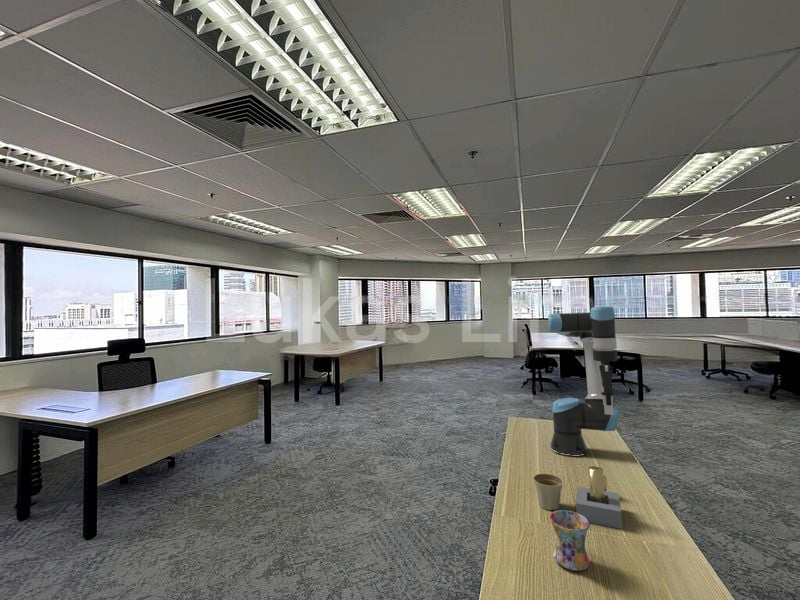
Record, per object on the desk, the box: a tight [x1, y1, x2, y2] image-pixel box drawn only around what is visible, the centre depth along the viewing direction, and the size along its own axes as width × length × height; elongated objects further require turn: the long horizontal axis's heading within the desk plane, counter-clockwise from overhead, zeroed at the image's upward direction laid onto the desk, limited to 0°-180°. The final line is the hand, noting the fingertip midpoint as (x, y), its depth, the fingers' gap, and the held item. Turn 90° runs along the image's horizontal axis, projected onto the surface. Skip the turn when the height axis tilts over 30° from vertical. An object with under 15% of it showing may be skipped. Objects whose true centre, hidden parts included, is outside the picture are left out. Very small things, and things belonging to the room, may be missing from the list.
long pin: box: [588, 465, 605, 504], centre depth 114 cm, size 4×4×14 cm
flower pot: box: [532, 473, 564, 511], centre depth 120 cm, size 9×9×9 cm
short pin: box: [603, 475, 608, 491], centre depth 126 cm, size 4×4×6 cm
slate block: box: [575, 486, 623, 530], centre depth 114 cm, size 12×12×5 cm
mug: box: [549, 509, 591, 572], centre depth 94 cm, size 12×9×11 cm
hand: (608, 409), depth 129 cm, fingers open, 13 cm apart
